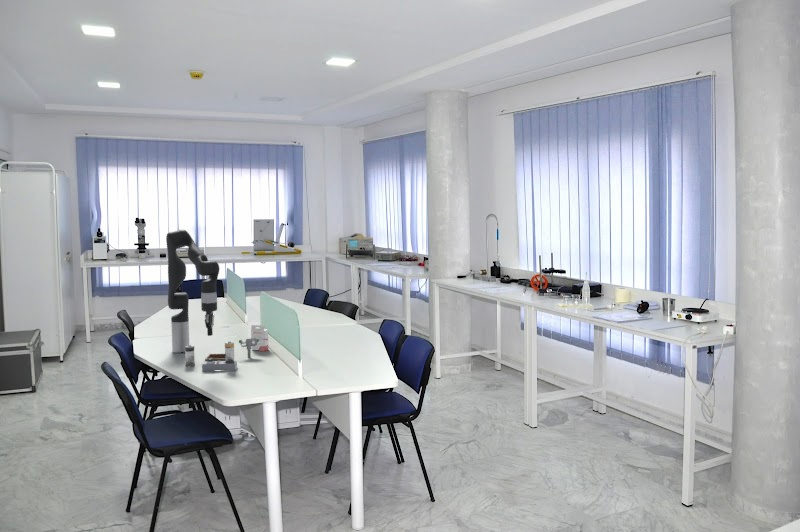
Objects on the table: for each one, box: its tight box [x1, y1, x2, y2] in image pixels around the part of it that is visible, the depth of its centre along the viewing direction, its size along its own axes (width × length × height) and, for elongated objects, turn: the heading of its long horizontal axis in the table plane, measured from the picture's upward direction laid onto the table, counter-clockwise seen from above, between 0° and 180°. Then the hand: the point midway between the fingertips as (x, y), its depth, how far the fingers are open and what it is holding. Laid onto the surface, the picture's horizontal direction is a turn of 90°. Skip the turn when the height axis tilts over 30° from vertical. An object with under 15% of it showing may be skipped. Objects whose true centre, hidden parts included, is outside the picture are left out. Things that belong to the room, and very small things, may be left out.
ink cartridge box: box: [250, 324, 269, 352], centre depth 363 cm, size 9×5×15 cm, turn 76°
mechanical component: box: [238, 338, 259, 358], centre depth 346 cm, size 3×10×10 cm, turn 111°
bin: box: [204, 353, 225, 361], centre depth 334 cm, size 11×11×4 cm
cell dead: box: [184, 344, 196, 367], centre depth 328 cm, size 4×4×11 cm
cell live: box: [224, 341, 235, 363], centre depth 321 cm, size 4×4×11 cm
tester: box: [201, 360, 238, 372], centre depth 321 cm, size 6×16×4 cm, turn 96°
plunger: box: [206, 358, 214, 364], centre depth 320 cm, size 4×4×5 cm
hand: (210, 335), depth 319 cm, fingers closed
